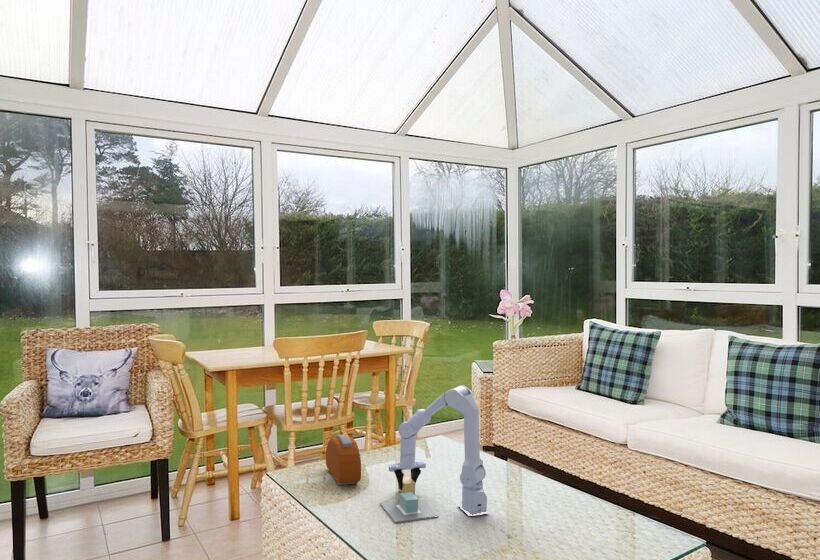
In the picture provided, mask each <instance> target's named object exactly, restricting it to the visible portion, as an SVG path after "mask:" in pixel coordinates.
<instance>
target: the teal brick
mask: <svg viewBox="0 0 820 560" xmlns="http://www.w3.org/2000/svg"><path fill="white" fill-rule="evenodd" d="M418 498H419V497H418V496H416V495H415V494H413V493H412V492H407V493H401V492H400V493H399V500H400V507H401V508H402V509H403V510H404V511H405V513H412V512H418Z"/></svg>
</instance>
